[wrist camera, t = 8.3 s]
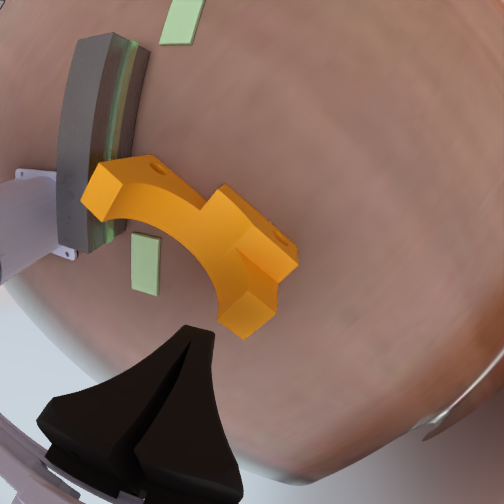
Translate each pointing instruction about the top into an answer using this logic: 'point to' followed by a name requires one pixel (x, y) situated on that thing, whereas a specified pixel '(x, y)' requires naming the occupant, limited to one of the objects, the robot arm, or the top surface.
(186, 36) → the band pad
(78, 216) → the curved gray arc panel
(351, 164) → the top surface
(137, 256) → the plate
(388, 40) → the top surface
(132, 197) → the pipe clamp
